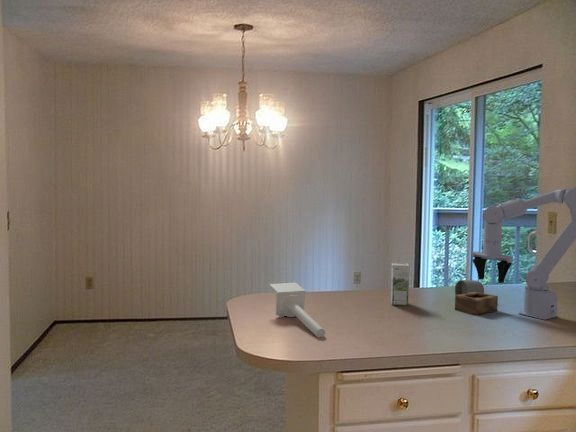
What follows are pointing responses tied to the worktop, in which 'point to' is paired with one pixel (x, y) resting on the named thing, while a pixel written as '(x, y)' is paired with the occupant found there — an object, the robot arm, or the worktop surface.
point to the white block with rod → (294, 305)
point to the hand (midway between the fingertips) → (491, 280)
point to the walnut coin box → (476, 303)
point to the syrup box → (399, 283)
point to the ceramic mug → (468, 287)
